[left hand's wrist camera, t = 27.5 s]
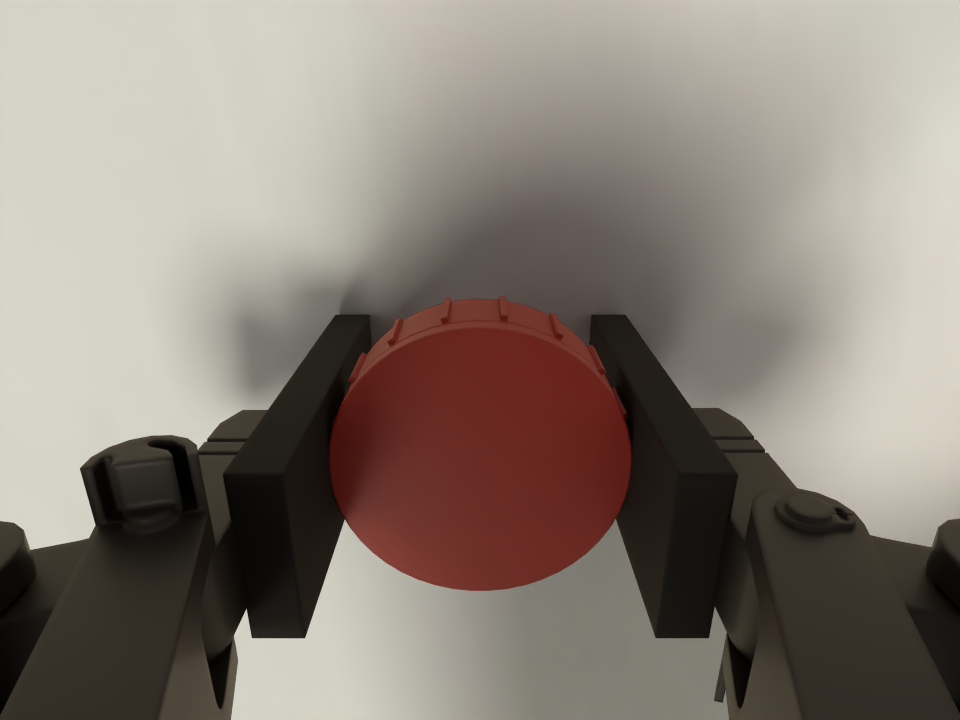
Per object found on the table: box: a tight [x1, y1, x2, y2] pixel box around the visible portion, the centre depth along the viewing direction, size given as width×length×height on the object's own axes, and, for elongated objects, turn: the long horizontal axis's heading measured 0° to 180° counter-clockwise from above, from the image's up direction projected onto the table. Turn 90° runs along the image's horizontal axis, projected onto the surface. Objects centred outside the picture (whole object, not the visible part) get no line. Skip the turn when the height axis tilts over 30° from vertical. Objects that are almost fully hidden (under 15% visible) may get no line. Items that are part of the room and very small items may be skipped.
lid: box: [329, 296, 632, 591], centre depth 11 cm, size 5×5×2 cm
